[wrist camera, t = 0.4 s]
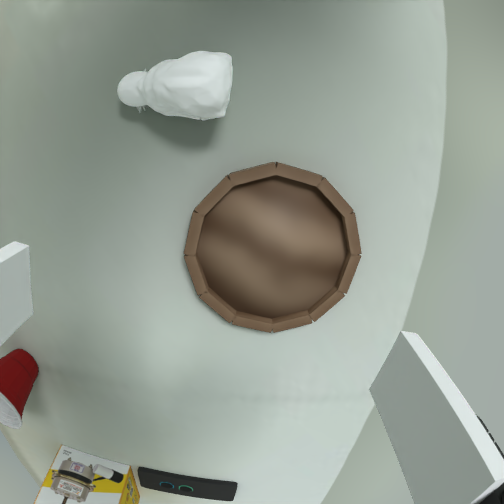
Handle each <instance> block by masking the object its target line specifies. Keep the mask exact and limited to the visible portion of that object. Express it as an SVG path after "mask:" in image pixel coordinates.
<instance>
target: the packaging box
mask: <svg viewBox="0 0 504 504" xmlns="http://www.w3.org/2000/svg"><path fill="white" fill-rule="evenodd" d="M139 499H140V495H139V492H138V489H137V486H136V483H135V479H134V476H133V473H132V469H131V466H129V465H126V464H122V463H118V462H114V461H111V460H107V459H104V458H100V457H97V456H94V455H91V454H88V453H85V452H82V451H79V450H76V449H73V448H70V447H67V446H65V445H61V447H60V449H59V451H58V453H57V455H56V457H55V459H54V461H53V463H52V465H51V467H50V469H49V471H48V473H47V476H46V478H45V480H44V482H43V484H42V486H41V489H40V491H39V493H38V495H37V498H36V500H35V502H34V504H138V503H139Z"/></svg>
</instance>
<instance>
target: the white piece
mask: <svg viewBox="0 0 504 504" xmlns="http://www.w3.org/2000/svg"><path fill="white" fill-rule="evenodd" d="M144 71H145V69H144ZM146 71H147V69H146ZM146 71H145V72H143V71H136V72H132V73H129V74H127V75H126V76H125V77H123V78H122V79H121V81H120V82H119V84H118V88H117V93H118V97H119V99H120V100H121V101H122V102H123V103H124V104H126V105H129V106H133V107H137V110H138V109H139V113H140V110H141V106H143V105H144V106H143V109H144V110H145V108H144V107H145V106H146V105H148V106H149V107H151V108H152V109H153V110H155V111H156V112H159V113H161V114H163V115H166V116H181V117H187V118H192V119H196V120H200V119H201V120H203V121H205V120H208V119H214V118H220V117H224V116H225V113H226V109H227V106H228V104H229V102H230V92H231V87H232V79H233V75H232V73H233V67H232V57H231V56H230V55H229V54H227V53H222V52H208V51H196V52H191V53H189V54H187V55H185V56H183V57H181V58H179V59H168V60H164V61H162V62H160V63H158V64H157V65H155V66H154V67H152V68H151V69H150V70H149V72H146ZM146 107H147V106H146ZM147 108H148V107H147ZM145 112H146V111H145Z"/></svg>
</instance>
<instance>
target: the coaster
mask: <svg viewBox="0 0 504 504" xmlns="http://www.w3.org/2000/svg"><path fill="white" fill-rule="evenodd" d="M353 211H354V210H353V209H352V208H351V207H350V206H349V204H348V203H347V202H346V201H345V200H344V199H343V197H342V196H341V195H340V194H339V193H338V192H337V191H336V189H335V188H334V187H333V186H332V185H331V184H330V183H329V182H328V181H327V179H326V178H324V177H322V176H321V175H319V174H316V173H312V172H309V171H306V170H302V169H299V168H296V167H292V166H289V165H285V164H282V163H278V162H276V165H275V163H274V162H271V163H267V164H263V165H259V166H255V167H251V168H247V169H243V170H240V171H236V172H232V173H230V174H229V176H228V175H227V176H226V177H225V178H224V179H223V180H222V181H221V182H220V183H219V184H218V185H217V186H216V187H215V188H214V189H213V190H212V191H211V192H210V193H209V194H208V195H207V196H206V197H205V198H204V199H203V200H202V201H201V202H200V203H199V205H198V206H197V207H196V208H195V209H194V211H193V213H192V218H191V222H190V227H189V231H188V236H187V241H186V246H185V250H184V254H185V256H184V258H185V261H186V264H187V267H188V270H189V273H190V275H191V278H192V281H193V284H194V287H195V289H196V292H197V295H200V297H199V298H200V299H202V300H203V301H204V302H205V303H206V304H207V305H209V306H210V307H211V308H212V309H213V310H215V311H216V312H217V313H218V314H219V315H221V316H222V317H223V318H224V319H225V320H226V321H228V322H229V323H230V322H231V321H232V324H233V325H237V326H242V327H246V328H251V329H255V330H260V331H265V332H269V333H271V331H272V329H273V332H274V333H275V332H279V331H283V330H287V329H291V328H295V327H299V326H303V325H307V324H311V323H312V320H313V321H314V322H315V321H316V320H318V319H319V318H320V317H321V316H322V315H323V314H325V313H326V312H327V311H328V310H329V309H331V308H332V307H333V306H334V305H335V304H336V303H338V302H339V301H340V300H341V299H342V298H343V297H344V296H345V295H344V294H343V293H346V294H347V291H348V289H349V287H350V284H351V281H352V279H353V276H354V274H355V271H356V269H357V266H358V263H359V261H360V258H361V256H360V255H359V254H361V247H360V241H359V234H358V228H357V222H356V217H355V213H354V212H353ZM311 319H312V320H311Z"/></svg>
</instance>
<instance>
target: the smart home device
mask: <svg viewBox="0 0 504 504" xmlns="http://www.w3.org/2000/svg"><path fill="white" fill-rule="evenodd" d="M138 475H139V480H140V484H141V486H142V487H145V488H149V489H153V490H158V491H163V492H168V493H173V494H179V495H185V496H191V497H197V498H205V499H213V500H222V501H233V499H234V496H235V493H236V490H237V483H236V482H230V481H220V480H212V479H204V478H197V477H191V476H185V475H179V474H173V473H168V472H163V471H158V470H153V469H149V468H145V467H139V468H138Z"/></svg>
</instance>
